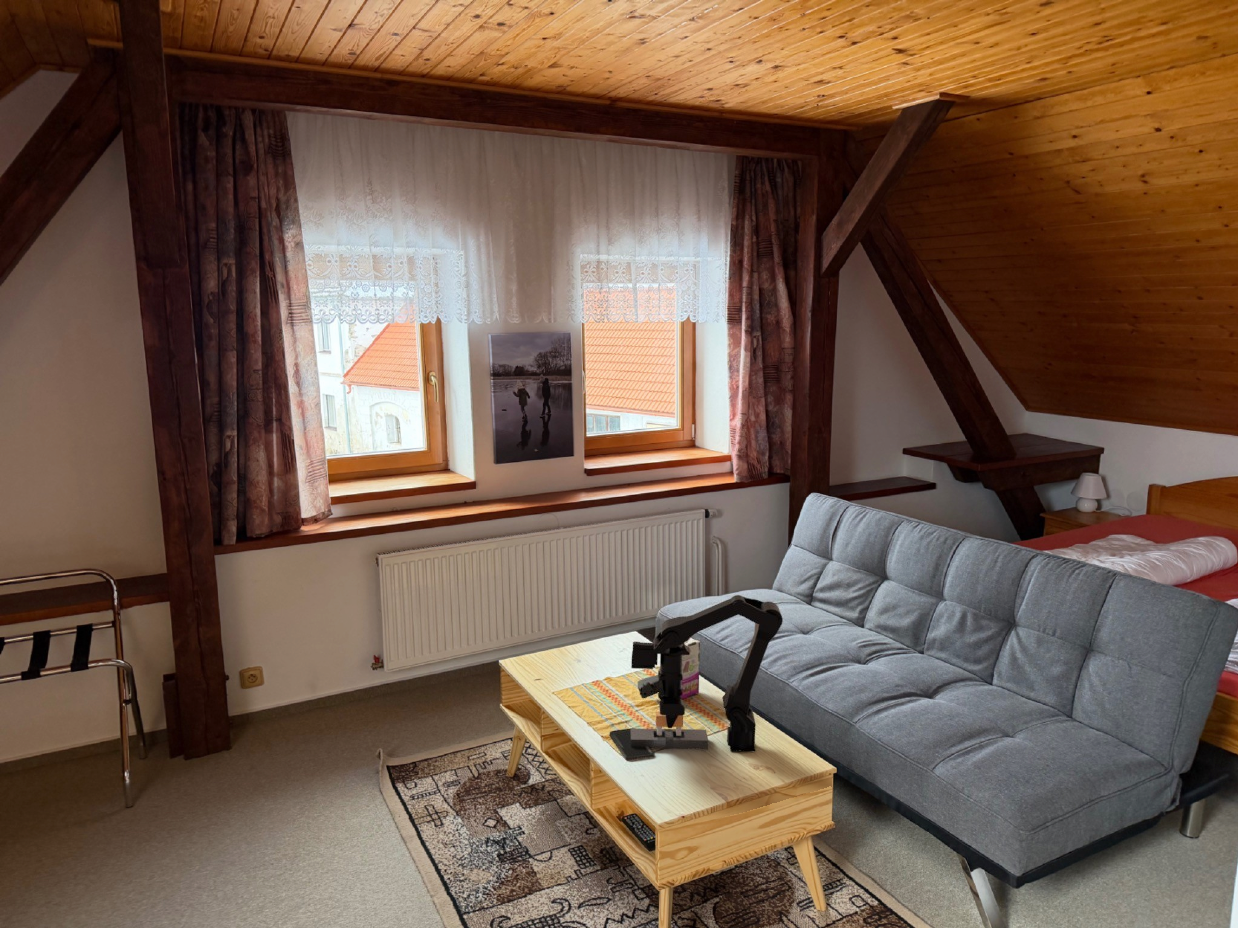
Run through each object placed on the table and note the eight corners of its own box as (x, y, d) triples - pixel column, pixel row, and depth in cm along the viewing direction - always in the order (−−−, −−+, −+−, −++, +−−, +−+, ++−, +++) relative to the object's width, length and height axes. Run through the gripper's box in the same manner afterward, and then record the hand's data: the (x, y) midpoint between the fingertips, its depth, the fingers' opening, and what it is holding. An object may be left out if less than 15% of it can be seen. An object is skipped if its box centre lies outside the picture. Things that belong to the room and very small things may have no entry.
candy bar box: (687, 687, 268) (689, 635, 266) (699, 693, 265) (701, 641, 262) (659, 697, 261) (661, 644, 259) (671, 703, 258) (673, 649, 255)
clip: (681, 731, 235) (682, 711, 234) (682, 735, 233) (683, 716, 232) (655, 731, 235) (655, 711, 234) (655, 735, 233) (656, 715, 232)
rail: (705, 738, 238) (705, 729, 237) (708, 749, 232) (708, 740, 231) (630, 737, 237) (630, 728, 237) (630, 748, 231) (630, 739, 231)
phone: (635, 727, 241) (655, 753, 227) (635, 731, 242) (655, 757, 228) (608, 731, 239) (625, 758, 225) (607, 735, 239) (625, 762, 225)
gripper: (638, 654, 240) (637, 708, 243) (640, 683, 222) (639, 742, 224) (680, 654, 240) (678, 709, 243) (685, 684, 222) (684, 742, 224)
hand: (669, 725), depth 234 cm, fingers closed on clip, 2 cm apart
